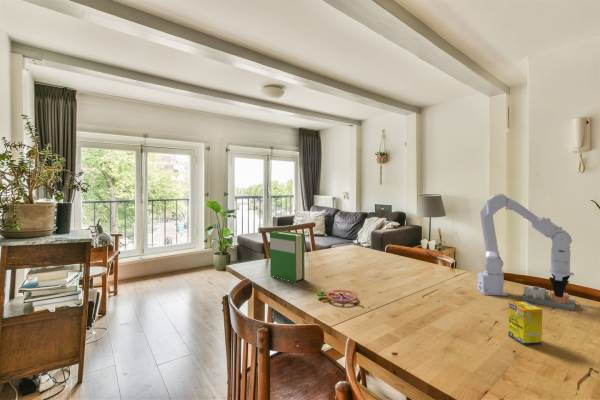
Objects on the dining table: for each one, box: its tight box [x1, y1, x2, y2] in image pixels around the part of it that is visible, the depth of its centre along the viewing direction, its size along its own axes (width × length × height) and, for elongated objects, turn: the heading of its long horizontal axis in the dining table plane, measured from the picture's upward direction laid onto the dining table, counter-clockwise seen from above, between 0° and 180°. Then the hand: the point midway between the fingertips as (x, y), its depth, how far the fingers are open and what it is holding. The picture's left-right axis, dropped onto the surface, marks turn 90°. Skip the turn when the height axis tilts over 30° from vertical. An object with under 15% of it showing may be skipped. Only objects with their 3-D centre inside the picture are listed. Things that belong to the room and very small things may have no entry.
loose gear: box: [549, 290, 570, 303], centre depth 117 cm, size 6×6×3 cm
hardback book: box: [269, 230, 306, 283], centre depth 154 cm, size 18×7×24 cm, turn 50°
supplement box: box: [507, 301, 544, 346], centre depth 90 cm, size 6×6×11 cm
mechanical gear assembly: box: [308, 287, 365, 308], centre depth 126 cm, size 30×4×15 cm
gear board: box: [521, 285, 577, 312], centre depth 119 cm, size 16×10×5 cm, turn 45°
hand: (559, 294), depth 117 cm, fingers open, 7 cm apart
